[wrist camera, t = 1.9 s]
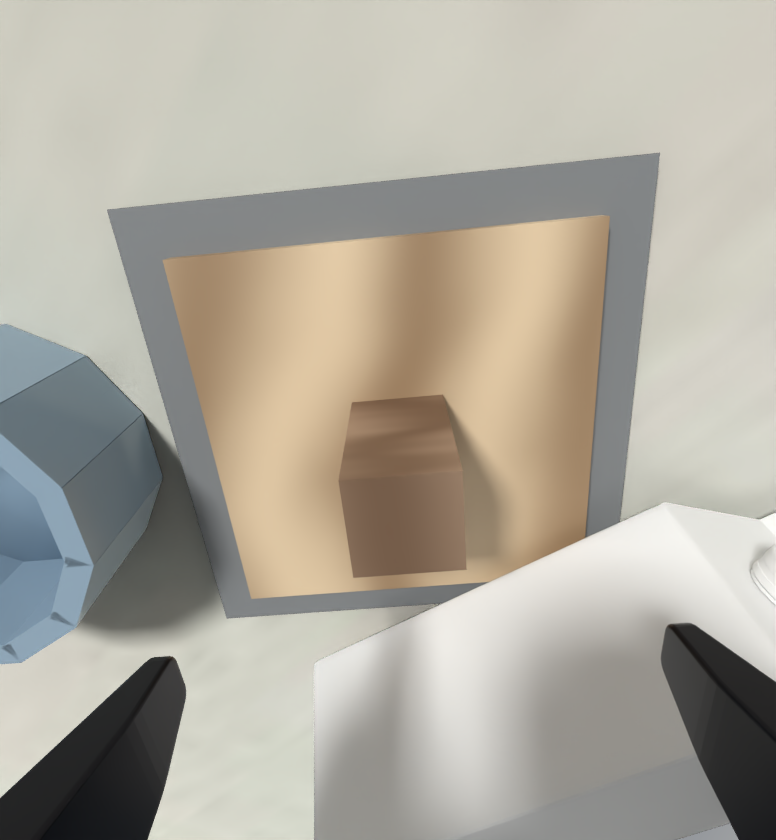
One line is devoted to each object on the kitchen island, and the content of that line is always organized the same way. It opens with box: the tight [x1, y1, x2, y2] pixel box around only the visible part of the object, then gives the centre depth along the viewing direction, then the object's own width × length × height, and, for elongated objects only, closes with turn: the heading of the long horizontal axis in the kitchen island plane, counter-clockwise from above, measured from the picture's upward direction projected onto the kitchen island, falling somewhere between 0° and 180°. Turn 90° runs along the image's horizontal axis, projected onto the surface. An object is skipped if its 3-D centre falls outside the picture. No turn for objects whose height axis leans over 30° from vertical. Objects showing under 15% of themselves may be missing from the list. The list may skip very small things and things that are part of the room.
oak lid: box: [163, 215, 610, 599], centre depth 16 cm, size 13×13×6 cm
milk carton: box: [314, 502, 776, 840], centre depth 18 cm, size 7×7×19 cm
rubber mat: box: [107, 153, 660, 618], centre depth 18 cm, size 16×16×1 cm
